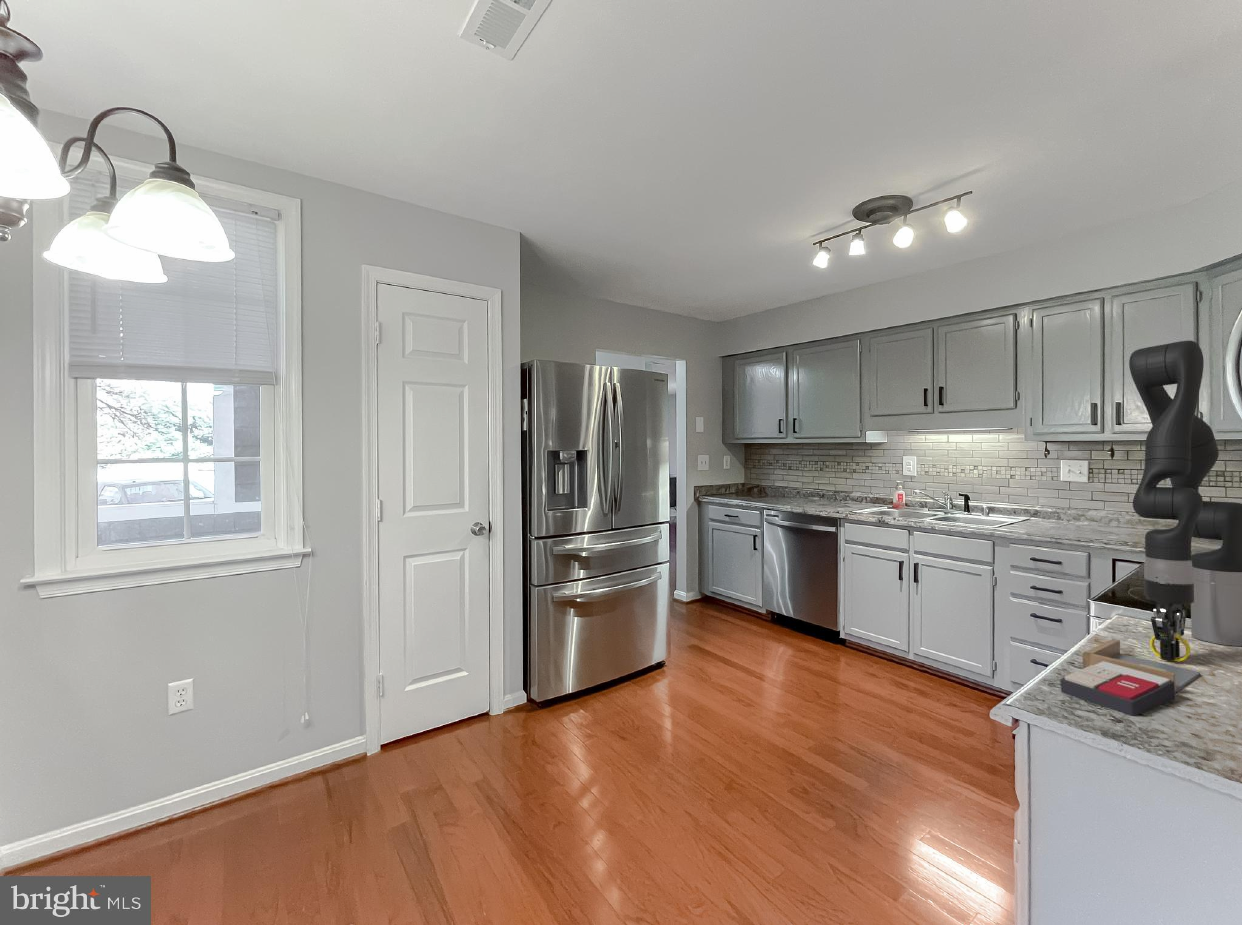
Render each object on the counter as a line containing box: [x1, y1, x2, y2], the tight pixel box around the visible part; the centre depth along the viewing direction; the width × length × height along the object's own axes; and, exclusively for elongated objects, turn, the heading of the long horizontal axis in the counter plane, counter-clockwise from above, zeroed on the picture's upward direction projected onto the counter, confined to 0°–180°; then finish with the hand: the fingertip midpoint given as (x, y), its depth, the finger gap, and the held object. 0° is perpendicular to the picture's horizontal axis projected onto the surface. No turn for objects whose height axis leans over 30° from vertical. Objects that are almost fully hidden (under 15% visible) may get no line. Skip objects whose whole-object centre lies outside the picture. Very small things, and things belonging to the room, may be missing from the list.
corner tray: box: [1082, 638, 1201, 693], centre depth 110 cm, size 16×14×4 cm
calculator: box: [1060, 661, 1176, 717], centre depth 100 cm, size 11×4×15 cm
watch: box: [1149, 633, 1191, 663], centre depth 116 cm, size 6×3×6 cm, turn 32°
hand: (1170, 657), depth 116 cm, fingers closed on watch, 2 cm apart
